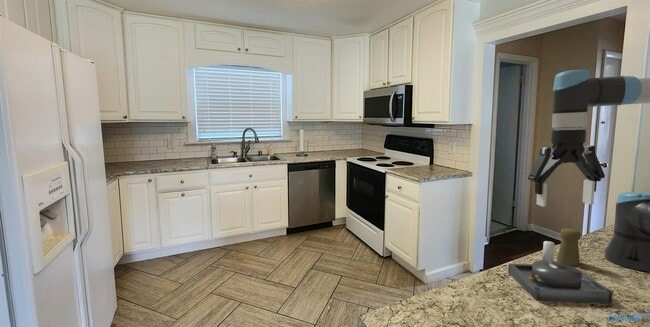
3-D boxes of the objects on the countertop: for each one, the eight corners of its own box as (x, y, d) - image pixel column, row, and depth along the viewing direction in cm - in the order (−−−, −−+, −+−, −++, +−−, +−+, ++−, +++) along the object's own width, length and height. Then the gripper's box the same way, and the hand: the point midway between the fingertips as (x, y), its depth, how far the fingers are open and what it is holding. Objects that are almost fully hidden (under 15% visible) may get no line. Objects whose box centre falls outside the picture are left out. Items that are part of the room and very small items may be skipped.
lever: (591, 290, 81) (594, 257, 80) (546, 288, 82) (548, 255, 81) (563, 270, 92) (566, 241, 90) (524, 269, 93) (526, 240, 92)
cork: (584, 266, 99) (587, 233, 97) (562, 265, 100) (565, 232, 99) (573, 258, 105) (575, 226, 103) (553, 257, 106) (555, 226, 105)
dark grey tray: (571, 274, 93) (572, 265, 93) (611, 303, 79) (612, 291, 78) (508, 272, 95) (508, 263, 95) (536, 300, 80) (536, 289, 80)
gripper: (600, 127, 90) (595, 199, 92) (515, 130, 89) (512, 203, 91) (626, 127, 82) (620, 205, 85) (534, 130, 81) (530, 210, 84)
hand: (564, 204), depth 88 cm, fingers open, 13 cm apart
